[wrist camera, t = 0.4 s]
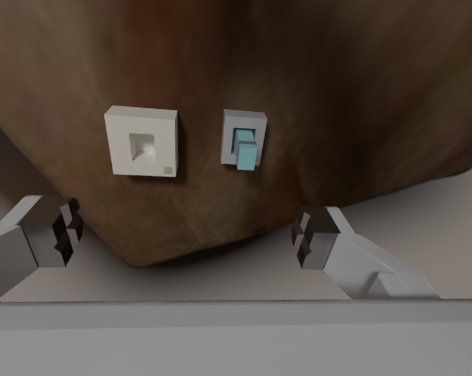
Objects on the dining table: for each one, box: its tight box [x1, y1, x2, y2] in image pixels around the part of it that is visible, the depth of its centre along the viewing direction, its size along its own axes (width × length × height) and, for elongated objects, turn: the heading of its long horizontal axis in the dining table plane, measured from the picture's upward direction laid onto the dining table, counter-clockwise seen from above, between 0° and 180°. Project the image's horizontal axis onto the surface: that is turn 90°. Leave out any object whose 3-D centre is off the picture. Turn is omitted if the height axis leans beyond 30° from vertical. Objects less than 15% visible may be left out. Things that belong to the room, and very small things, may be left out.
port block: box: [104, 106, 178, 177], centre depth 54 cm, size 12×12×5 cm
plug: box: [233, 128, 257, 170], centre depth 53 cm, size 4×3×10 cm
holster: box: [220, 109, 267, 166], centre depth 56 cm, size 10×8×4 cm
